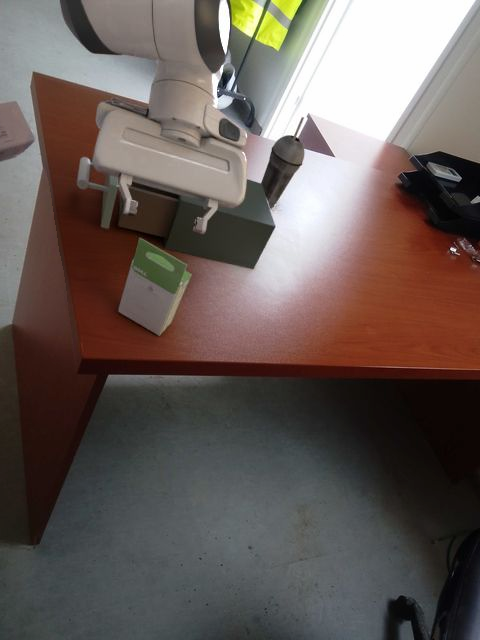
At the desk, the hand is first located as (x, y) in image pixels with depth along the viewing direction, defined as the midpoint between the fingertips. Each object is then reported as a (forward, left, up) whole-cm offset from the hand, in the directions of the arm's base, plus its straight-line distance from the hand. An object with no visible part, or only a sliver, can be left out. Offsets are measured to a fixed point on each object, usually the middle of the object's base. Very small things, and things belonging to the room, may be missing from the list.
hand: (165, 223), depth 61 cm
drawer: (-1, +18, -11) cm, 21 cm away
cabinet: (+12, +18, -12) cm, 25 cm away
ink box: (0, -6, -12) cm, 14 cm away
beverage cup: (+28, +37, -12) cm, 48 cm away
